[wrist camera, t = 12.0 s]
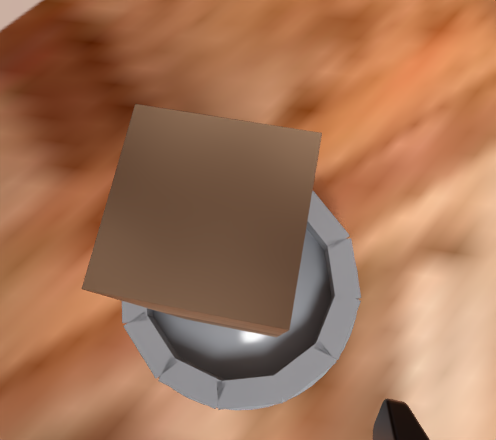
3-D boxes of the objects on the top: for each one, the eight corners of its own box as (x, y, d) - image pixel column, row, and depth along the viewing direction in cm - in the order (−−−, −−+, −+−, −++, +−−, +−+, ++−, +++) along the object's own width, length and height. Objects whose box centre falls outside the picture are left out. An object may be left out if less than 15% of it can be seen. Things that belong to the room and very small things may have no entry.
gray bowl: (404, 311, 23) (416, 308, 21) (211, 461, 21) (206, 473, 19) (264, 139, 26) (264, 122, 24) (87, 261, 24) (71, 253, 22)
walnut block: (276, 337, 22) (289, 330, 9) (185, 319, 22) (81, 288, 10) (291, 247, 23) (321, 132, 10) (205, 231, 23) (135, 103, 11)
